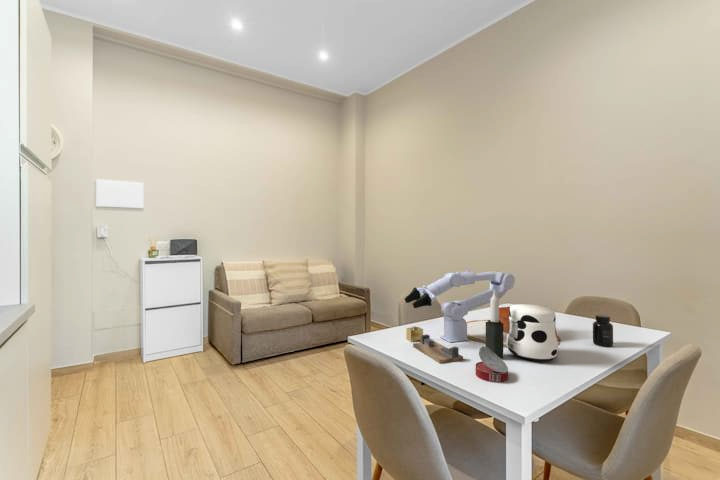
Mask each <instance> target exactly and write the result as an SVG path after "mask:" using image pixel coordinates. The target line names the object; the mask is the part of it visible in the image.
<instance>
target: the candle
mask: <svg viewBox="0 0 720 480" xmlns="http://www.w3.org/2000/svg"><path fill="white" fill-rule="evenodd" d="M493 292H494V293H493V296H492V298H491V299H490V306H489V307H490V309H489V311H490V312H489V313H490V314H489V315H490V319H488V320H487V321H485V347H488V348H489V349H490V350H492V352H494V353H495V354H496V355H497V356H498V357H499V358H501V359H504V332H503V331H504V324H503V323H501V321H499V308H500V299H498V298H497V295H496V291H495V290H494V291H493Z"/></svg>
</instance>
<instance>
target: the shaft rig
mask: <svg viewBox="0 0 720 480" xmlns="http://www.w3.org/2000/svg"><path fill="white" fill-rule="evenodd" d="M412 346H413V347H412V348H415V349H416V350H418V351H419V352H421V353H422V354H424V355H425V356H427V357H428V358H430V359H432V360H433V361H435V362H436V363H438V364H446V363H451V362H459V361H463V360H464V356H463V355H461V354H459V351H460V350H459V347H457V346H451V347H446V346H444V345H442V344H441V343H439V342H437V341H435V340H434V339H431V337H430V334H427V333H426V334H423V335H421V341H420V342H416V343H415V342H414V343H413V344H412Z"/></svg>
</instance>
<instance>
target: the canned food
mask: <svg viewBox="0 0 720 480" xmlns="http://www.w3.org/2000/svg"><path fill="white" fill-rule="evenodd" d="M478 357H479V359H480V360H481V361H480V362H476V364H475V376H476V377H477V378H478V379H479V380H482V381H485V382H489V383H493V384H494V383H495V384H497V383H499V384H500V383H505V382H507V381H508V380H509V366H507V364H506V362H504V361H503V358H499V357H498V356H497V355H496V354H495V353H494V352H492V350H490V349H489V348H488V347H486V346H481V347H480V348H479V350H478Z"/></svg>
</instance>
